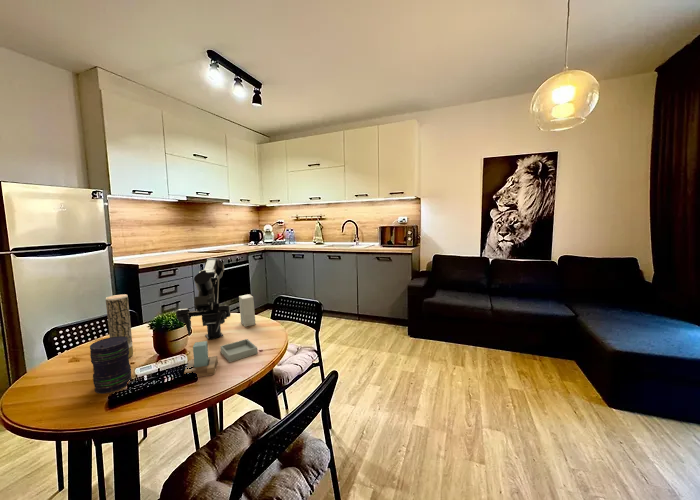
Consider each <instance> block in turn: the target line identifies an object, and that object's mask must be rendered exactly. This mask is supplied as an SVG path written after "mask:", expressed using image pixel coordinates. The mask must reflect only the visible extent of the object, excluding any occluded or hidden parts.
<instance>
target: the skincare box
mask: <svg viewBox="0 0 700 500" xmlns="http://www.w3.org/2000/svg"><path fill="white" fill-rule="evenodd" d="M238 301H239V302H238V303H239V304H238V305H239V312H240V313H239V315H240V323H241V324H242V326H244V327H245V328H246V327H250V326H255V325H256V314H255V313H256V312H255V311H256V310H255V302H254V296H252V295H251V294H250V293H249V294H248V293H247V294H244V295H239V296H238Z"/></svg>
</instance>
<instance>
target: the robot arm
mask: <svg viewBox="0 0 700 500" xmlns="http://www.w3.org/2000/svg"><path fill="white" fill-rule="evenodd" d="M224 272H225V265H224V262H223V261H221V260H219V258H217V257H214V258H213V257H208V258H207V259H206V262H204V268H203V269H202V270H200V271H199V272H198V273H197V274H196V275H194V277H193V281H194V283H195V286H196V290H197V291H198V294H197V296H195V297H194V302H193V303H194V308H195V311H194V310H193V311H190V309H189V308H179V309H177V310H176V312H175V316H176V318H177V320H178V322H180V323H181V324H185V327H186V331H187V333H188V336H191V332H192V331H191V330H192V327H191V326H192V321H191V320H192V318H193V317H200V316H201V322H202V326H203V327H205V326H206V331H207V333H206V334H205V337H206V338H207V341H209V340H214V339H219V338H221V337H224V334H223V333H222V331H221V330H222V328H221V327H222V326H221V325H223V324H224V323H225V322H226V320H227V318H230V317H231V307H230V305H229V304H223V305H222V304H221V305H220V304H219V292H220V291H219V289H220V288H219V287H220V279H222V278H223V274H224Z"/></svg>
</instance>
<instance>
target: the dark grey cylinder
mask: <svg viewBox="0 0 700 500" xmlns="http://www.w3.org/2000/svg"><path fill="white" fill-rule="evenodd" d="M127 341H128V338H127V337H124V336H117V337H110V336H109V337H106V338H102V339H100V340H97V341H95V342H92V343H91V344H90V345H89V353H90V354H89V357H90V363H91V364H92V370H93V374H92V382H93V386H94V392H95V393H96V394H101V395H103V394H108V393H109V394H110V393H113V392H117V391H120V390H122V389H123V388H125V387H127V386H128V385H127V382H128V381H129V380H131V379H132V366H131V364H130V359H129V358H130V357H129V356H128V355H129V345H128V342H127ZM132 380H133V379H132Z"/></svg>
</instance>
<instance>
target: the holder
mask: <svg viewBox="0 0 700 500" xmlns="http://www.w3.org/2000/svg"><path fill="white" fill-rule="evenodd" d="M218 359H219V358H218V355H213V356H208V360H209V364H208V366H203V367H196V368H192V369H189V368H191V367H194V358H192V359H189V361H188V363H187V365H186V367H185V369H184V372H183V375H184V374H186V373H192V372H193V373H196V374H197V377H196V378H199V377H206V376H213V375H215V374H216V369H217V365H218V363H219V362H218V361H219V360H218ZM187 368H188V369H187Z"/></svg>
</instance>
